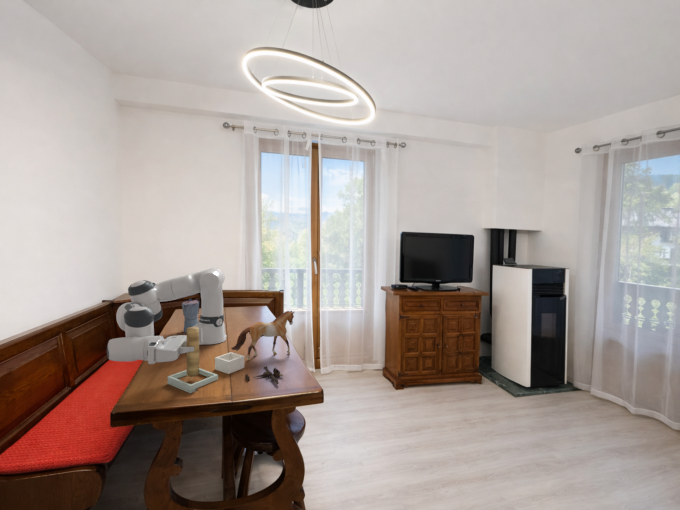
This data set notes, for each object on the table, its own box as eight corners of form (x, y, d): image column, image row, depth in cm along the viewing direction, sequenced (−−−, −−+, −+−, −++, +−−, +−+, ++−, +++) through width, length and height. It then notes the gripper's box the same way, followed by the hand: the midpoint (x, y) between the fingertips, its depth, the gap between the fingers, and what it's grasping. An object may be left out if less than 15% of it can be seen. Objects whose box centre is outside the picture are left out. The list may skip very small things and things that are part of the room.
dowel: (184, 374, 130) (184, 328, 129) (196, 371, 133) (196, 326, 132) (189, 377, 126) (188, 330, 125) (200, 374, 129) (200, 328, 128)
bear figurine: (240, 367, 140) (274, 358, 146) (241, 377, 140) (275, 368, 147) (251, 384, 124) (288, 374, 131) (252, 395, 124) (289, 384, 131)
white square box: (214, 371, 141) (215, 357, 141) (230, 365, 148) (231, 352, 148) (228, 376, 137) (228, 361, 136) (244, 369, 144) (244, 356, 144)
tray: (167, 383, 128) (167, 376, 128) (195, 373, 139) (195, 366, 138) (190, 393, 121) (190, 385, 121) (217, 381, 131) (218, 374, 131)
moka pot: (176, 334, 192) (176, 299, 191) (191, 327, 208) (191, 295, 207) (191, 335, 191) (191, 300, 190) (206, 328, 206) (206, 295, 205)
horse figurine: (292, 349, 172) (293, 309, 171) (298, 354, 165) (299, 312, 164) (230, 360, 155) (231, 315, 154) (235, 365, 148) (236, 319, 147)
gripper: (163, 347, 136) (200, 345, 139) (147, 366, 116) (190, 363, 120) (163, 331, 136) (200, 330, 139) (147, 348, 116) (190, 346, 119)
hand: (195, 346), depth 129 cm, fingers closed on dowel, 4 cm apart
